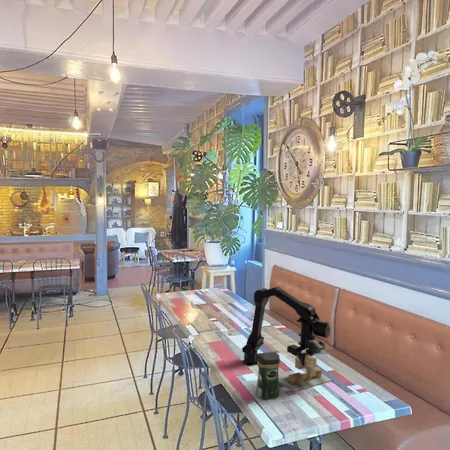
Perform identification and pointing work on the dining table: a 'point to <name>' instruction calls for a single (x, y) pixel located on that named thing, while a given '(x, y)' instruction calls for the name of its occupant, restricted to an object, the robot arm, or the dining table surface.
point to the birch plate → (307, 364)
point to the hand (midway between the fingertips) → (305, 365)
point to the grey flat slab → (304, 380)
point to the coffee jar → (268, 375)
